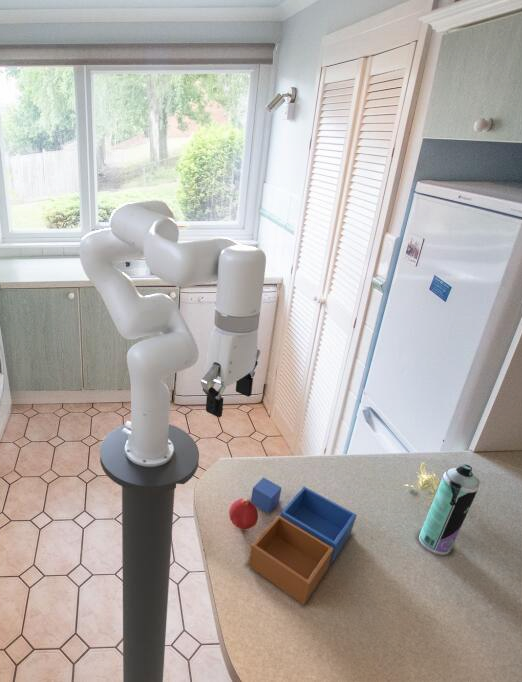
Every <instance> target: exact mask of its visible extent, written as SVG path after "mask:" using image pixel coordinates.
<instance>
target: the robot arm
mask: <svg viewBox="0 0 522 682" xmlns="http://www.w3.org/2000/svg"><path fill="white" fill-rule="evenodd" d="M175 221H176V220H175V214H174V211H173V209H172V208H171V207H170V206H169V205H168V204H167V203H166V202H164V201H162V200H147V201H146V200H145V201H137V202H129V203H124V204H121V205H119V206H118V207H116V209H114V210H113V212H112V213H111V214H110V217H109V228H104V229H99V230H95V231H91V232H89V233H87V234H86V235H84V237H82V238H81V240H80V242H79V248H78V252H79V253H78V254H79V259H80V264H81V267H82V269H83V271H84V273H85V275H86V277H87V278H88V280H89V282H90V283H91V284H92V285H93V286H94V288H95V289H96V290H97V292H98V293H99V295H100V297H101V299H102V300H103V303H104V305H105V307H106V309H107V311H108V313H109V316H110V318H111V320H112V322H113V324H114V325H115V328H116V330H117V331H118V333H119V335H120V336H121V337H122V338H123V339H125V340H136V339H139V338H144V337H147V336H152V335H154V334H155V335H156V334H159V335H157V336H153V337H149V338H146V339H143V340H140V341H137V342H136V343H135V344H133V345H132V346H131V347H130V348H129V349H128V350H127V354H126V364H127V369H128V374H129V382H130V421H129V420H127V421H126V422H125V424H124V425H125V427H126V428H127V429H129V430H131V431H129V430H127V429H126V428H124V429H123V430H122V433H124V434H126V435H128V441H127V442H126V444H125V453H126V456H127V457H128V459H129V460H131V461H132V462H133V463H135V464H138V465H141V466H146V467H155V466H160V465H163V464H165V463H167V462H168V461H169V460H170V459H171V458H172V456H173V453H174V447H173V444H172V442H171V441H170V440H169V439H168V435H169V424H170V415H171V412H170V411H171V391H170V388H169V386H168V385H167V384H166V383H165V382H164V379H165V378H166V377H169V376H171V375H173V374H176V373H179V372H181V371H185V370H187V369H190V368H191V367H194V365H195V364H196V363H197V362H198V359H199V353H200V352H199V347H198V344H197V341H196V339H195V337H194V335H193V333H192V331H191V328H189V325H188V323H187V321H186V320H185V318H184V316H183V313H182V312H181V310H180V308H179V307H178V304H177V303H176V302H175V301H174V300H173V298H171V297H170V296H169V295H167V294H165V293H162V292H161V293H152V294H147V295H141V294H140V292H139V291H138V289H137V287H136V285H135V282H134V281H133V280H132V279H131V277H129V275H127V274H126V273H125V272H124V271H122V270H121V269H119V268H117V267H116V266H115V265H116V264H123V263H128V262H133V261H138V260H142V259H144V261H145V264H146V265H147V268H148V269H149V271H150V272H151V273H152V274H153V275H154V276H155V277H157V278H158V279H160V280H162V281H164V282H165V283H167V284H168V285H171V286H174V287H178V288H190V287H194V286H198V285H203V284H207V283H212V282H216V295H215V309H214V321H213V322H214V323H213V327H214V328H213V329H212V331H211V334H210V337H209V341H208V348H207V354H206V359H205V370H204V376H203V377H202V379H201V380H200V384H201V387H202V391H203V392H204V394H205V395H206V404H205V412H206V413H209V414H211V415H212V416H215V417H217V418H219V419H220V418H221V417H222V416H223V409H224V408H223V407H224V397H223V394H224V393H225V390H226V388H227V387H229V386H231V385H233V384H235V392H236V393H238V394H241V395H243V396H246V397H247V398H249V397H251V396H252V392H253V384H254V377H255V375H256V371H255V369H256V367H257V366H258V360H259V357H260V354H261V350H260V349H258V339H259V338H258V336H259V333H258V332H259V328H260V327H259V326H260V317H261V309H262V300H263V292H264V284H265V283H264V282H265V274H266V264H267V256H266V254H265V252H264V250H262V249H260V248H258V247H255V246H249V245H243V244H240V243H239V242H237V241H235V240H233V239H231V238H228V237H225V236H217V237H211V238H206V239H199V240H193V241H187V242H181V243H178V242H179V237H180V232H179V226H178V223H177V222H175ZM218 378H220V379H218ZM216 384H217V385H219V387H218V389H216V388H214V387H215V385H216Z"/></svg>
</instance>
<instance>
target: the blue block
mask: <svg viewBox="0 0 522 682" xmlns="http://www.w3.org/2000/svg"><path fill="white" fill-rule="evenodd" d="M282 487H283V486H280V485H278V484H276V483H275V482H273V481H271V480H269V479H268V478H265V477H264V476H263V477H262V478H261V479H260V480H259V481H258V482H257V483H256V484H255V485H254V486H253V487H252V490H251V497H250V501H251V502H252V503H253V504H254V505H255V506H256V508H258V509H260V510H261V511H264V512H265V513H267V514H270V513H271V512H272V511H273V509H274V508H275V507H276V506H277V505H278V504H279V502H280V499H281V498H280V497H281V492H282Z"/></svg>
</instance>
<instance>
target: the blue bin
mask: <svg viewBox="0 0 522 682" xmlns="http://www.w3.org/2000/svg"><path fill="white" fill-rule="evenodd" d="M279 516H281V517H282V518H284V519H286V520H287V521H289V522H291V523H292V524H294V525H296V526H297V527H299V528H301V529H302V530H304V531H306V532H307V533H309V534H311V535H312V536H314V537H316V538H317V539H319V540H321V541H322V542H324V543H326V544H327V545H329V546H330V547H332V548H334V549H333V553H332V556H331V560H330V563H329V566H331V565H332V563H333V562H334V560H335V559H336V557H337V556H338V555H339V552H340V551H341V550H342V549H343V547H344V545H345V544H346V542H347V541H348V539H349V538H350V536H351V535H352V531H353V528H354V524H355V521H356V518H357V514H356V513H354V512H353V511H351V510H349V509H347V508H346V507H343V506H341V505H340V504H337V503H335V502H334V501H332V500H330V499H328V498H326V497H324V496H322V495H321V494H319V493H317V492H316V491H313V490H311V488H310V489H309V488H308V487H306V486H303V487H302V488H301V489H300V490H298V492H297V493H296V494H295V495H294V497H293V498H291V500H290V501H289V502H288V504H286V506H285V507H284V508H283V509H282V510H281V511H280V515H279Z"/></svg>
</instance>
